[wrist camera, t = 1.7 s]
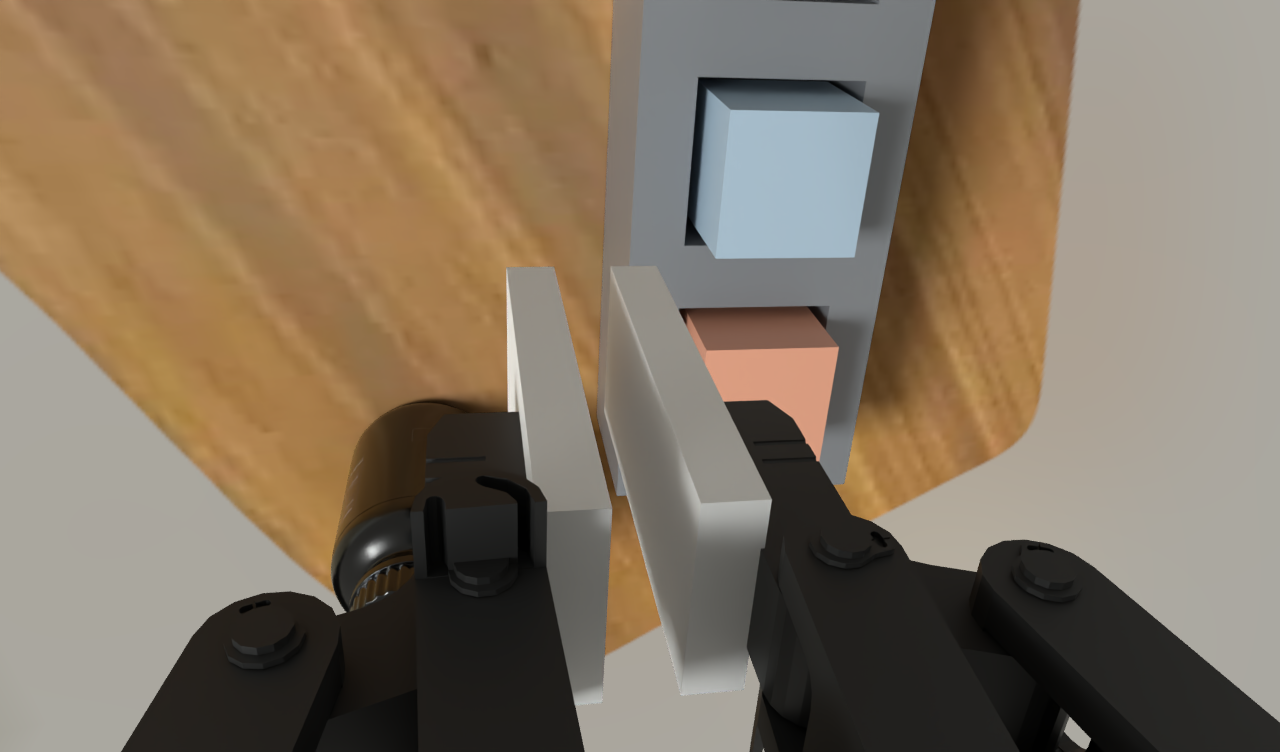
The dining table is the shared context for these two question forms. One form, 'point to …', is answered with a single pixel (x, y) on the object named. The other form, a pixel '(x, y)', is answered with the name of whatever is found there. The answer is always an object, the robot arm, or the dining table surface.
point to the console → (662, 150)
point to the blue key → (779, 168)
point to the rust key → (769, 360)
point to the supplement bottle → (382, 505)
